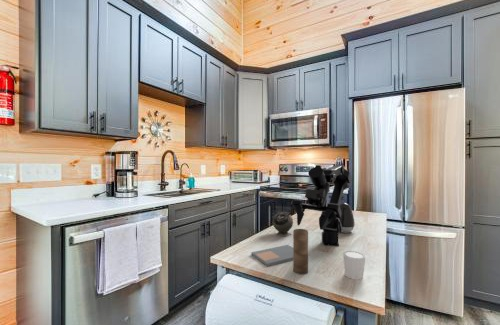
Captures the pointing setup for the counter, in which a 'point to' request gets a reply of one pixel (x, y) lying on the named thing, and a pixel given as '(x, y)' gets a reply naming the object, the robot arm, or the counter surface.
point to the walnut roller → (300, 251)
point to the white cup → (354, 264)
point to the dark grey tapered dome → (346, 218)
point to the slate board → (274, 255)
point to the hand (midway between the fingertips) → (309, 226)
